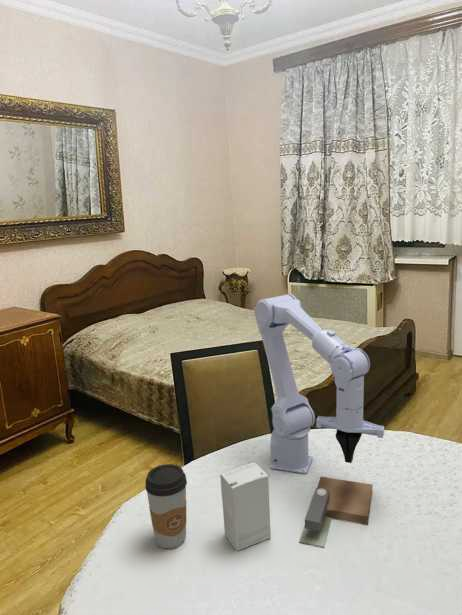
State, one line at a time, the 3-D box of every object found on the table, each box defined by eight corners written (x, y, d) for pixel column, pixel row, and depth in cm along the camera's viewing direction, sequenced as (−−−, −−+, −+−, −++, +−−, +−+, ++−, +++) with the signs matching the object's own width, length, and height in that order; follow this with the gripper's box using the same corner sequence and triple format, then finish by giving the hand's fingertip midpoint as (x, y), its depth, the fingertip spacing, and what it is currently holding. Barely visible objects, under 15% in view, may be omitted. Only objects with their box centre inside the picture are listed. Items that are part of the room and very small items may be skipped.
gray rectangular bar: (316, 495, 110) (316, 486, 109) (329, 498, 109) (329, 488, 108) (304, 528, 99) (304, 517, 99) (319, 531, 98) (319, 520, 98)
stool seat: (299, 542, 99) (299, 534, 98) (318, 483, 118) (318, 476, 118) (363, 555, 94) (363, 546, 94) (372, 492, 114) (372, 484, 113)
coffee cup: (158, 559, 96) (152, 490, 93) (145, 534, 103) (138, 470, 100) (197, 543, 100) (192, 477, 96) (182, 520, 107) (177, 458, 104)
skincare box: (257, 522, 105) (255, 460, 102) (272, 539, 100) (270, 474, 97) (222, 535, 102) (218, 471, 98) (235, 553, 96) (232, 486, 93)
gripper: (386, 401, 108) (385, 457, 111) (321, 393, 114) (321, 446, 117) (382, 415, 102) (380, 473, 105) (313, 405, 108) (313, 461, 111)
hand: (349, 460), depth 110 cm, fingers closed
